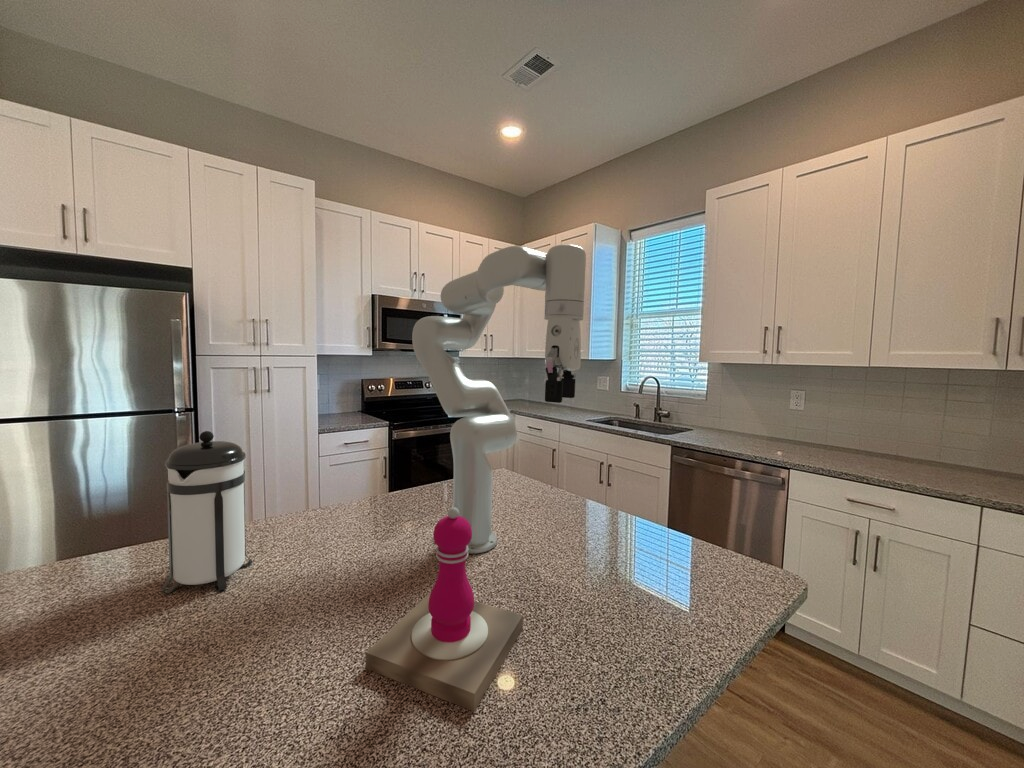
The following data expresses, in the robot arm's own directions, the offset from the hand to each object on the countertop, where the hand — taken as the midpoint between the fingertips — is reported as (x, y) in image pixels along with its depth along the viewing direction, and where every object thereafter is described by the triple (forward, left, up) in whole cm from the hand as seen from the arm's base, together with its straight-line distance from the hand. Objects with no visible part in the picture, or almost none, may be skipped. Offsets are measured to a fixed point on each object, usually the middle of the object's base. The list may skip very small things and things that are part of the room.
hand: (560, 399), depth 82 cm
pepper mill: (-10, -24, -36) cm, 44 cm away
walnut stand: (-10, -24, -38) cm, 46 cm away
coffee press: (-65, -26, -38) cm, 80 cm away
